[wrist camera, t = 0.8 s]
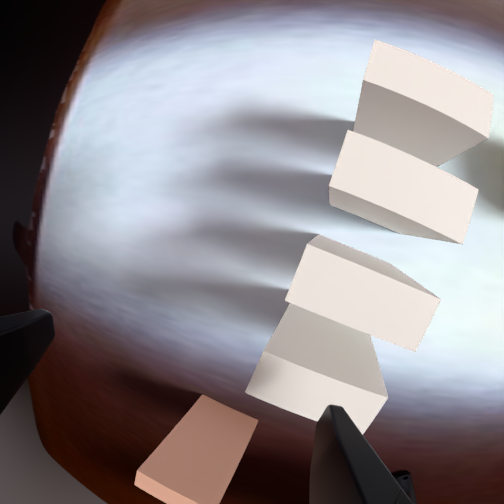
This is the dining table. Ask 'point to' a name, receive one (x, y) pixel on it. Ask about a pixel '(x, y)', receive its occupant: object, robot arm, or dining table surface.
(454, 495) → the dining table surface
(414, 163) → the tile
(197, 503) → the tile
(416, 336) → the tile
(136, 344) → the dining table surface
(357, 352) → the tile
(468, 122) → the tile end
